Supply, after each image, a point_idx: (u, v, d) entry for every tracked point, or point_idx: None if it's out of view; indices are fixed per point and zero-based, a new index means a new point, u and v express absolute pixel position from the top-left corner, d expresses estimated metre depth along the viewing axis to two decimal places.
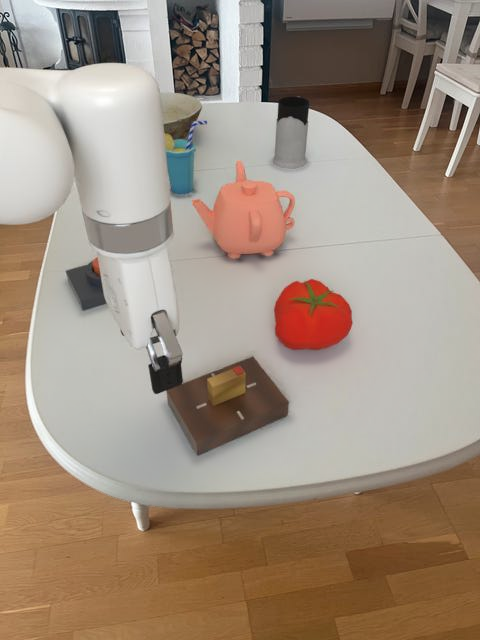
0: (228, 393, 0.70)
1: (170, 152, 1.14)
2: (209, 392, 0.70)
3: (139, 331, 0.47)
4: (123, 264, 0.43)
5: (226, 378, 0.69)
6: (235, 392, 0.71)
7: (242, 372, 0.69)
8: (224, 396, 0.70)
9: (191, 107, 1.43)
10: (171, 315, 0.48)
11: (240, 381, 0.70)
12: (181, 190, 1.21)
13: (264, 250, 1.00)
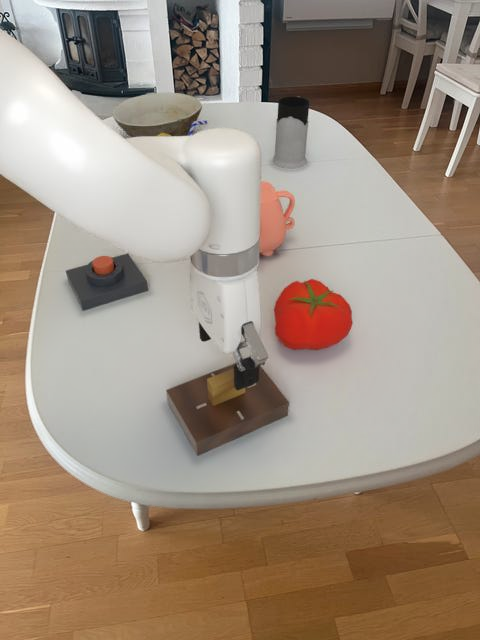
0: (228, 393, 0.70)
1: None
2: (209, 392, 0.70)
3: (231, 339, 0.57)
4: (224, 286, 0.54)
5: (226, 378, 0.69)
6: (235, 392, 0.71)
7: None
8: (224, 396, 0.70)
9: (191, 107, 1.43)
10: (256, 325, 0.58)
11: None
12: None
13: (264, 250, 1.00)
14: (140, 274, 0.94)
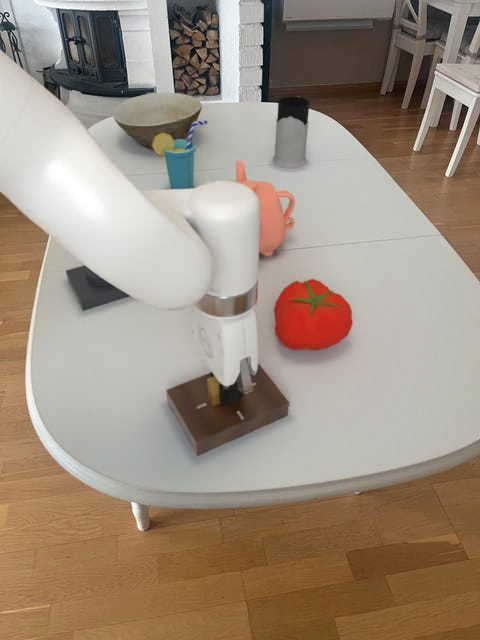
0: None
1: (170, 152, 1.14)
2: (209, 392, 0.70)
3: (230, 373, 0.61)
4: (224, 325, 0.57)
5: None
6: None
7: None
8: None
9: (191, 107, 1.43)
10: (254, 360, 0.62)
11: None
12: None
13: (264, 250, 1.00)
14: None
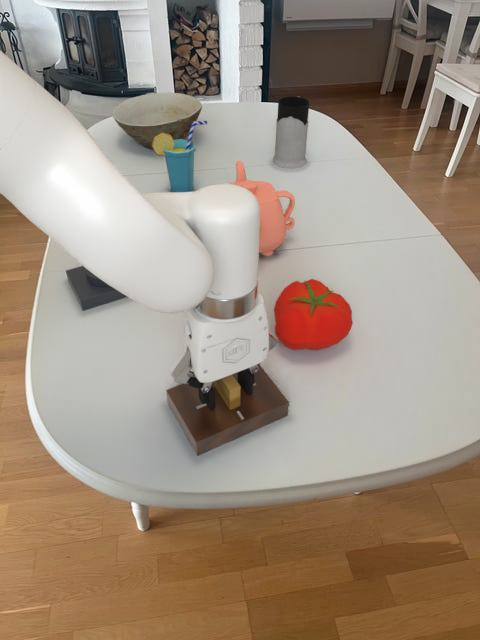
0: None
1: (170, 152, 1.14)
2: (233, 400, 0.69)
3: None
4: (263, 302, 0.61)
5: (229, 376, 0.69)
6: None
7: None
8: None
9: (191, 107, 1.43)
10: None
11: None
12: (181, 190, 1.21)
13: (264, 250, 1.00)
14: None
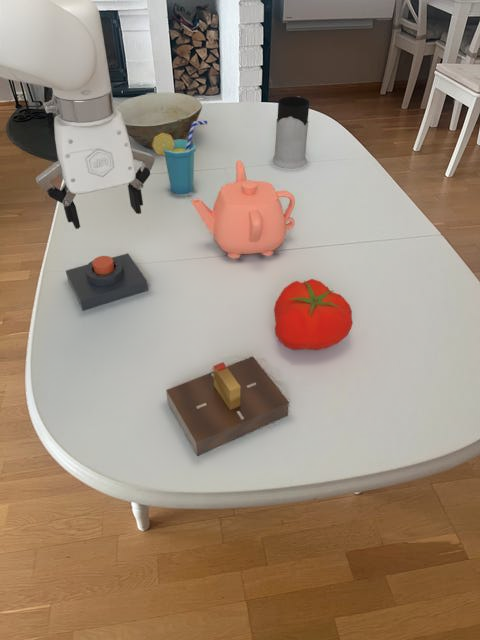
0: None
1: (170, 152, 1.14)
2: (233, 400, 0.69)
3: (133, 161, 0.76)
4: (120, 116, 0.71)
5: (229, 376, 0.69)
6: None
7: (223, 363, 0.71)
8: None
9: (191, 107, 1.43)
10: None
11: None
12: (181, 190, 1.21)
13: (264, 250, 1.00)
14: (140, 274, 0.94)
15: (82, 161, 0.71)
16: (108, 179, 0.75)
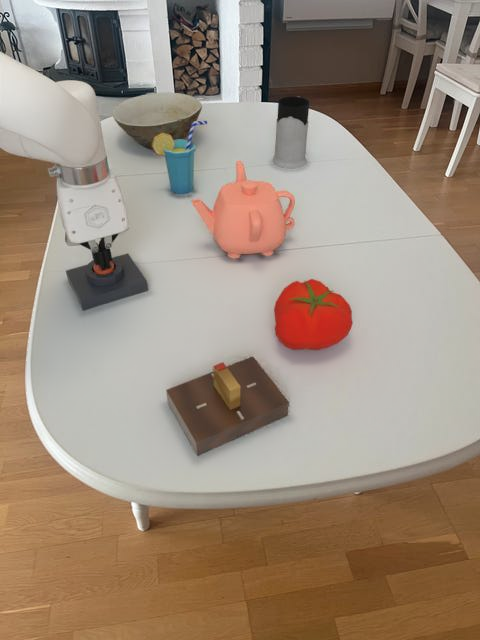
0: None
1: (170, 152, 1.14)
2: (233, 400, 0.69)
3: (126, 213, 0.86)
4: (114, 177, 0.81)
5: (229, 376, 0.69)
6: None
7: (223, 363, 0.71)
8: None
9: (191, 107, 1.43)
10: None
11: None
12: (181, 190, 1.21)
13: (264, 250, 1.00)
14: (140, 274, 0.94)
15: (81, 216, 0.82)
16: (104, 229, 0.85)
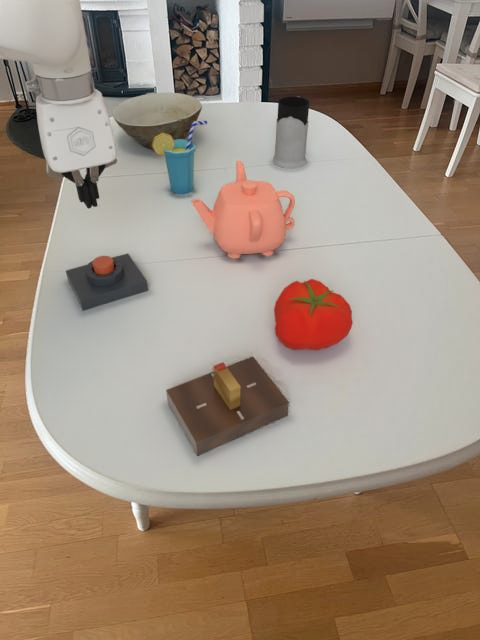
0: None
1: (170, 152, 1.14)
2: (233, 400, 0.69)
3: None
4: (100, 96, 0.73)
5: (229, 376, 0.69)
6: None
7: (223, 363, 0.71)
8: None
9: (191, 107, 1.43)
10: None
11: None
12: (181, 190, 1.21)
13: (264, 250, 1.00)
14: (140, 274, 0.94)
15: (63, 139, 0.74)
16: (89, 158, 0.77)
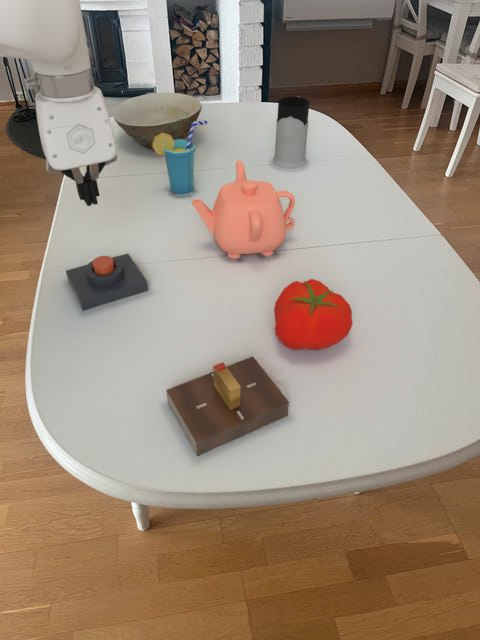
0: None
1: (170, 152, 1.14)
2: (233, 400, 0.69)
3: None
4: (99, 93, 0.73)
5: (229, 376, 0.69)
6: None
7: (223, 363, 0.71)
8: None
9: (191, 107, 1.43)
10: None
11: None
12: (181, 190, 1.21)
13: (264, 250, 1.00)
14: (140, 274, 0.94)
15: (63, 137, 0.73)
16: (89, 155, 0.77)
